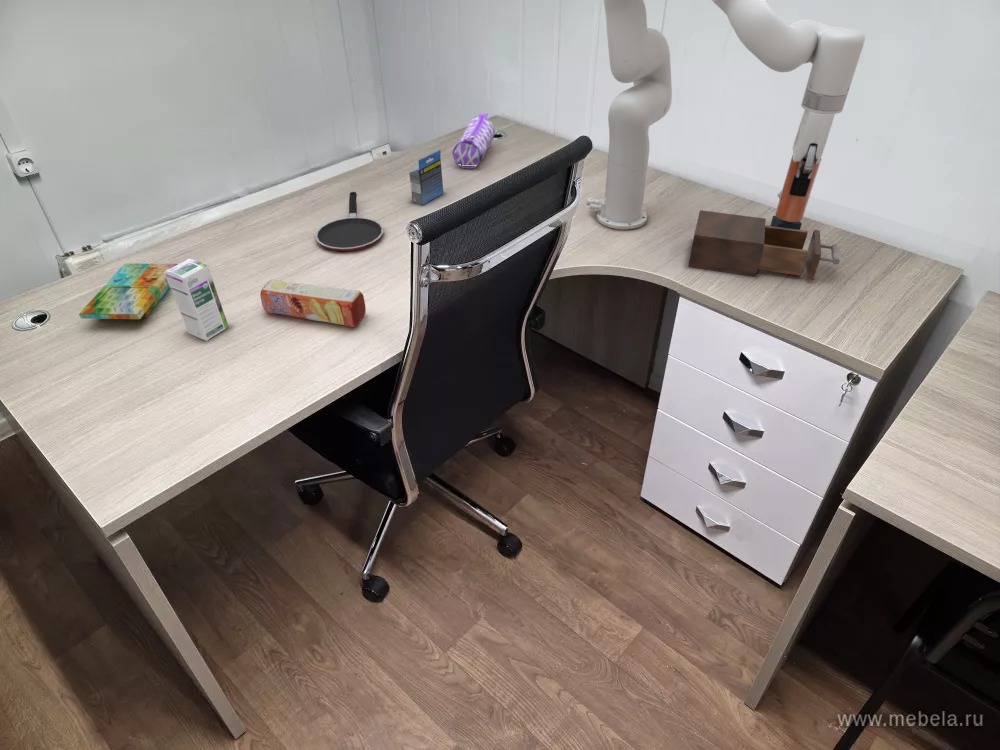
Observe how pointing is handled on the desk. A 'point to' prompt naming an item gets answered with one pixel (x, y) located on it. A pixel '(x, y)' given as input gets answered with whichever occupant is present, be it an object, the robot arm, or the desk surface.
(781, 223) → the watch
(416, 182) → the tape cartridge
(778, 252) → the drawer
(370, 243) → the frying pan
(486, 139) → the pencil case
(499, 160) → the desk surface
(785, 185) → the pencil cup
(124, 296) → the puzzle game
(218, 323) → the syrup box
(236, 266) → the desk surface
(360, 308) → the snack package
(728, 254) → the cabinet
